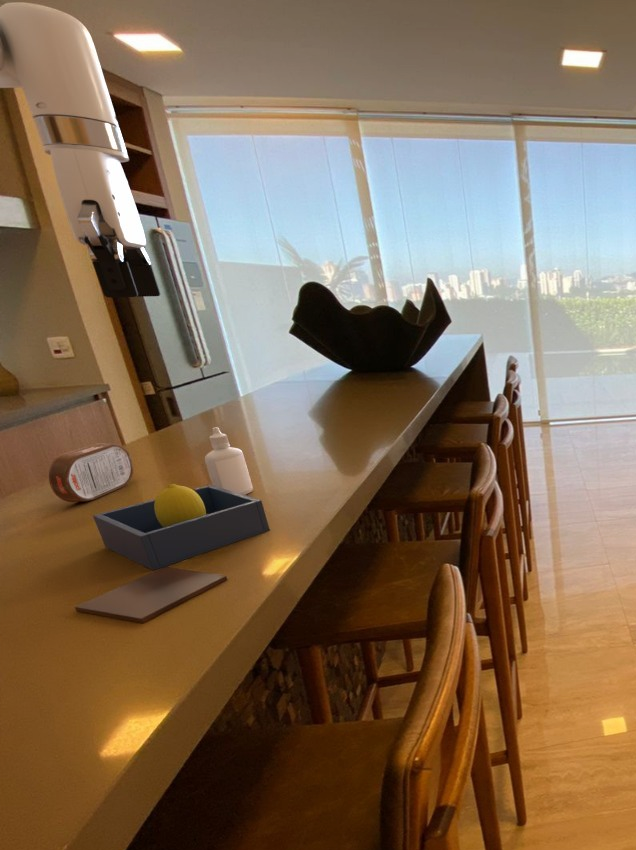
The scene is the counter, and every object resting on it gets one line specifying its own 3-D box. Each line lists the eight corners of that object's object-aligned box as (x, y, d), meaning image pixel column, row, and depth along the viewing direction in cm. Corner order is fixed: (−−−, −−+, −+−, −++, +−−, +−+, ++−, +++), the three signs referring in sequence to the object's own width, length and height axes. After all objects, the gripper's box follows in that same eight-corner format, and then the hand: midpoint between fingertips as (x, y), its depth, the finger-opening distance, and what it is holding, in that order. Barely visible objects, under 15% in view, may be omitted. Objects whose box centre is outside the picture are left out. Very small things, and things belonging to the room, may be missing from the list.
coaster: (142, 623, 61) (140, 618, 60) (76, 611, 63) (74, 606, 63) (227, 579, 70) (226, 575, 69) (166, 570, 72) (164, 566, 72)
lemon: (204, 525, 85) (187, 475, 82) (219, 534, 82) (202, 482, 79) (159, 538, 81) (140, 486, 78) (173, 548, 78) (154, 493, 75)
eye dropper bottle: (257, 494, 99) (237, 426, 94) (218, 502, 95) (196, 432, 91) (251, 488, 102) (232, 422, 97) (214, 496, 98) (192, 428, 94)
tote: (153, 570, 72) (140, 536, 70) (105, 547, 79) (92, 515, 77) (270, 530, 84) (261, 500, 82) (219, 512, 91) (210, 484, 89)
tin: (125, 480, 107) (109, 437, 104) (143, 480, 107) (127, 436, 104) (58, 509, 93) (37, 460, 90) (78, 508, 93) (58, 459, 90)
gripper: (72, 154, 73) (121, 296, 79) (4, 121, 58) (69, 298, 64) (145, 159, 76) (186, 295, 82) (97, 128, 61) (151, 296, 67)
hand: (134, 296), depth 73 cm, fingers open, 9 cm apart
